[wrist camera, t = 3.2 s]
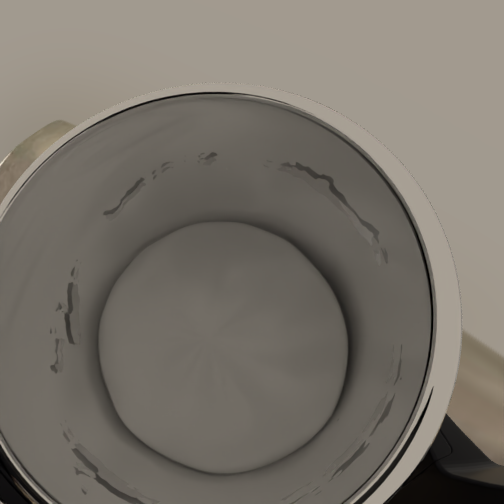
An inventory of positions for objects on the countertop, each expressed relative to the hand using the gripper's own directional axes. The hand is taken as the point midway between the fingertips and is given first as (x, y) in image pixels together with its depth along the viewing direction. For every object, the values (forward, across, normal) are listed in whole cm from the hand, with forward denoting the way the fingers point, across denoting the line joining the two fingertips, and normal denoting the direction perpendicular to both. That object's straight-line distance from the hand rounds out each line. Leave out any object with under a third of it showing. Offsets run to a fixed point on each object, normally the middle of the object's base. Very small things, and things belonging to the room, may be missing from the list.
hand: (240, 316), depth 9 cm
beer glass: (+5, 0, +7) cm, 9 cm away
